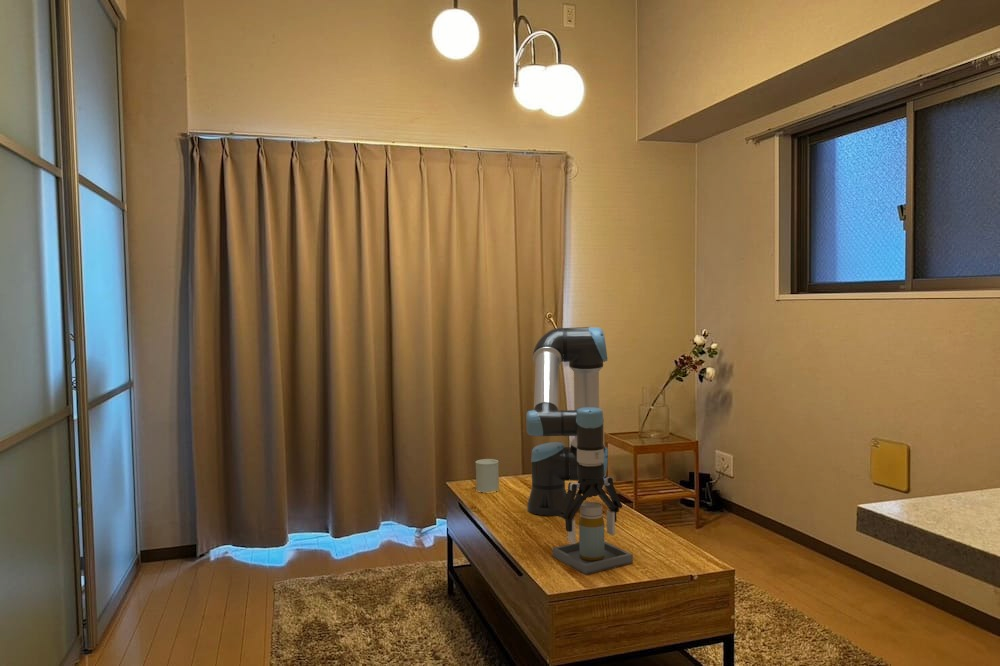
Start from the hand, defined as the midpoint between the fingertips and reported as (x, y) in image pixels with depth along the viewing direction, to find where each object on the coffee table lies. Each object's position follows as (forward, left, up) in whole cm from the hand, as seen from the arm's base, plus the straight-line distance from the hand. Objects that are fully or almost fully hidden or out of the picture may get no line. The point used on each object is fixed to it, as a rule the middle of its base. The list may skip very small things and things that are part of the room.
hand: (591, 538), depth 193 cm
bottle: (0, 0, -6) cm, 6 cm away
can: (-82, +10, -6) cm, 83 cm away
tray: (0, 0, -6) cm, 6 cm away
